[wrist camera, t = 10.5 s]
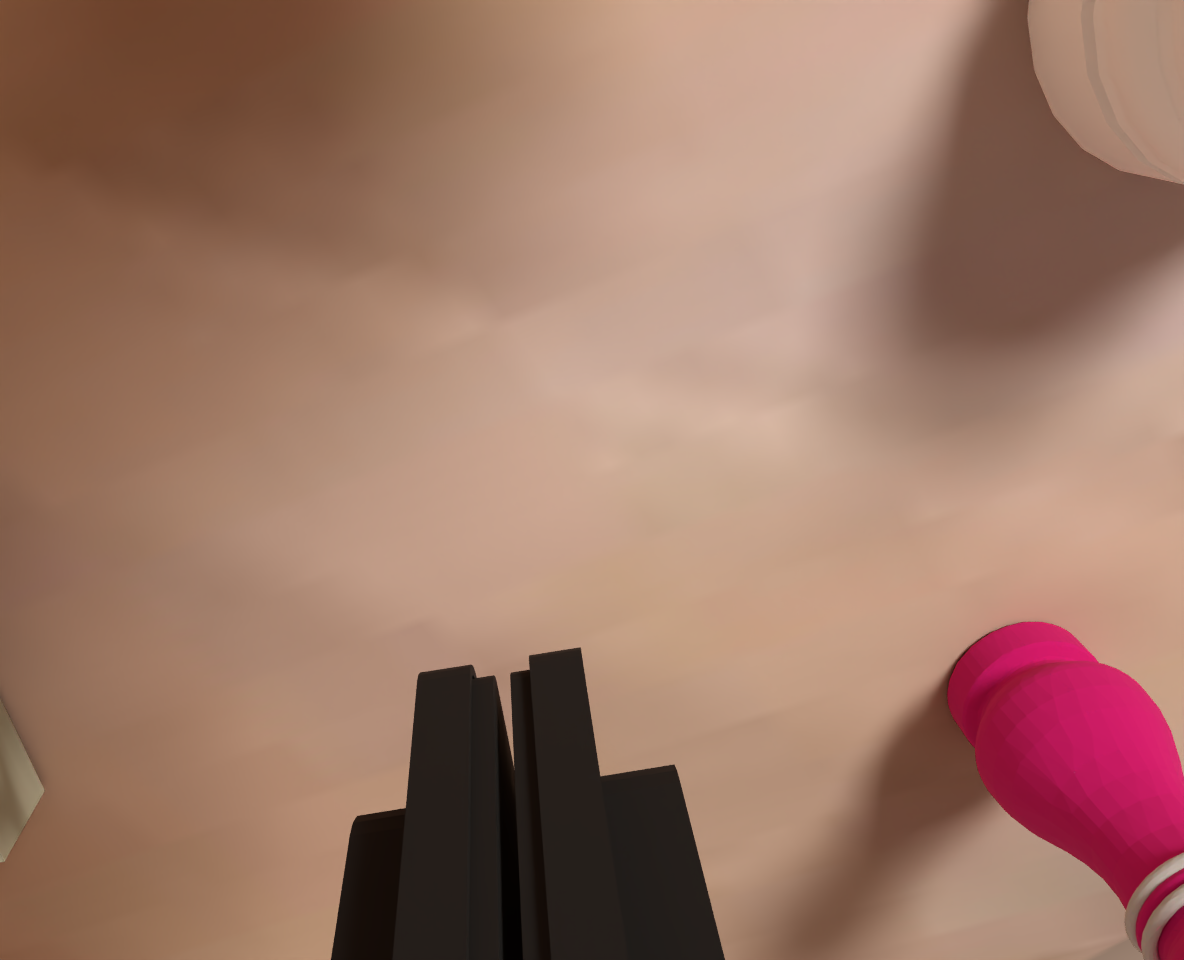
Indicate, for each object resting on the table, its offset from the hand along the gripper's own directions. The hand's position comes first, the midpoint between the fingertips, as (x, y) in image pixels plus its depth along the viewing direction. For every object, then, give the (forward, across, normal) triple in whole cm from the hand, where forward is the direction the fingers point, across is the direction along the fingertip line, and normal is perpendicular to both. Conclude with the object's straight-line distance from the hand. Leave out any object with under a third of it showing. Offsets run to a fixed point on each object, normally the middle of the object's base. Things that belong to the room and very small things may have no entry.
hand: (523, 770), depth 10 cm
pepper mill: (+25, -19, +22) cm, 39 cm away
